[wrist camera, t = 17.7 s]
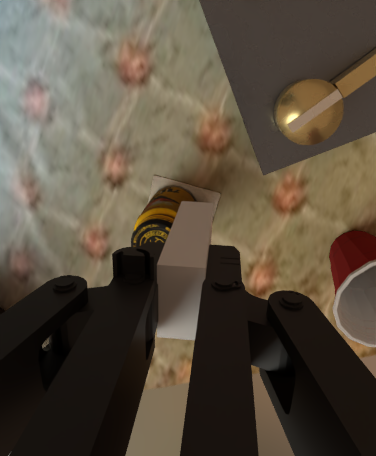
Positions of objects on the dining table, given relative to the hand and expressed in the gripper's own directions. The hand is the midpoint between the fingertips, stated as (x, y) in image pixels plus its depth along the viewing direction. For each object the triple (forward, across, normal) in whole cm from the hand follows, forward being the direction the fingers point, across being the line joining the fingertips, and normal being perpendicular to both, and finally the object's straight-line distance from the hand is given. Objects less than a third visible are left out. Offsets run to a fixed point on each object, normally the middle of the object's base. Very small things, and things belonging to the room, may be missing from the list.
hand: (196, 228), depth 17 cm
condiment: (+27, -4, -8) cm, 28 cm away
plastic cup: (+27, +18, -13) cm, 35 cm away
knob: (+24, +11, +6) cm, 27 cm away
